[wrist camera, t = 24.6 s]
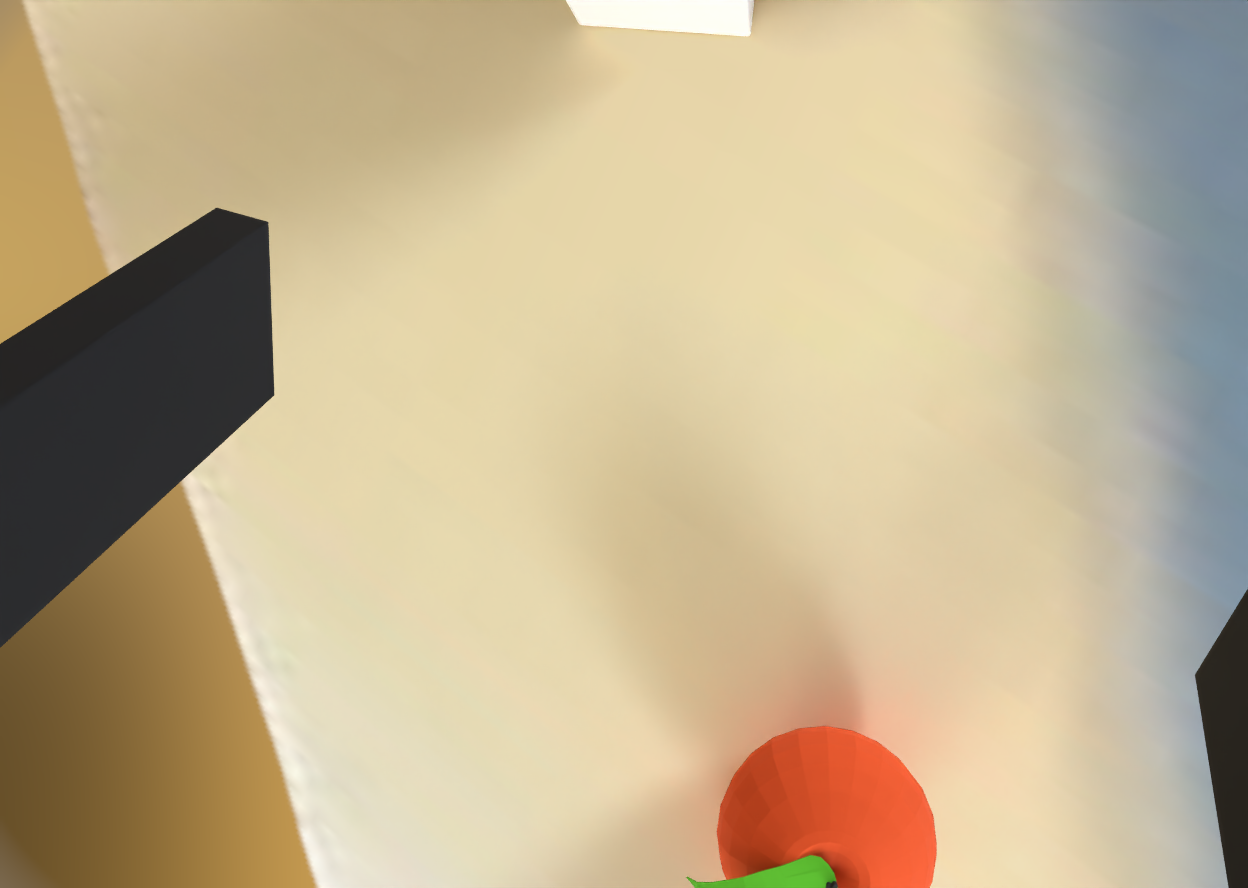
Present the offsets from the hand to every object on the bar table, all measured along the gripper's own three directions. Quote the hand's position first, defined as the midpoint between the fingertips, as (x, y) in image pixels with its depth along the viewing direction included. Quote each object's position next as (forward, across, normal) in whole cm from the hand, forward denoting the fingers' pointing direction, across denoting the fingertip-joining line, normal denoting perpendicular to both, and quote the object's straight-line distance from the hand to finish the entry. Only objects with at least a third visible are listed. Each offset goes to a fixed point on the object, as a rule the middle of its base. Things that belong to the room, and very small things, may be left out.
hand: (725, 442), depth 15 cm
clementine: (+16, +4, -24) cm, 29 cm away
